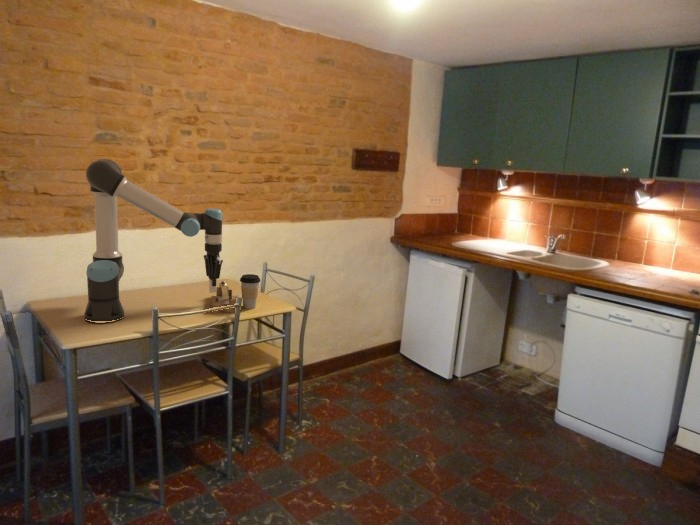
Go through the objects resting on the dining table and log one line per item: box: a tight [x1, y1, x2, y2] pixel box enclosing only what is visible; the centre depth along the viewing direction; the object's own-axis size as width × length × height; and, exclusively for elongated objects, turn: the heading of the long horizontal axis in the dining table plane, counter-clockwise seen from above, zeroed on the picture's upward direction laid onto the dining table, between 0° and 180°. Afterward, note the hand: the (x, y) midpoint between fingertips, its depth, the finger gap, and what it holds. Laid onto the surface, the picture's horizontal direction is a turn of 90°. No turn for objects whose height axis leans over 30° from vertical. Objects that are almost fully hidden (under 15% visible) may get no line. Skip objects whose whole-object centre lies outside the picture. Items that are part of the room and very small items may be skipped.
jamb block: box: [215, 286, 230, 296], centre depth 250 cm, size 6×6×5 cm
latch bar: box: [218, 280, 228, 298], centre depth 242 cm, size 18×4×3 cm, turn 18°
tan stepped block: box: [210, 289, 238, 314], centre depth 236 cm, size 12×14×8 cm
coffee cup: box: [239, 273, 261, 310], centre depth 239 cm, size 9×9×15 cm
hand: (212, 292), depth 238 cm, fingers closed
